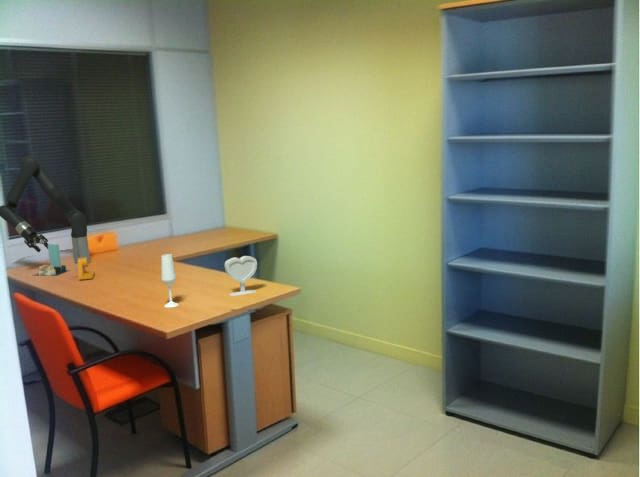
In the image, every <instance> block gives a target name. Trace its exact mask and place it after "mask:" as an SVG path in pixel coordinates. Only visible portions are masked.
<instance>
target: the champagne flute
mask: <svg viewBox="0 0 640 477" xmlns="http://www.w3.org/2000/svg"><path fill="white" fill-rule="evenodd" d="M160 257H161V258H160V260H161V278H160V280H161V281H162V283H164V284H165V285H166V286H168V299H169V302H167V303H166V304H165V305H163V307H164V308H174V307H175V308H176V307H178V306H179V304H180V303H177V302H174V301H173V296H172V285H173V284H174V283H175V281H176V279H177V274H176V269H175V263H174V259H173V254H172V253H166V254H162V255H161V256H160Z"/></svg>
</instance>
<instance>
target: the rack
mask: <svg viewBox="0 0 640 477" xmlns="http://www.w3.org/2000/svg"><path fill="white" fill-rule="evenodd" d="M54 270H55V272H56V274H54V275H39V272H38V273H35V274H33V275H31V276H33V277H34V276H35V277H58V276H60V275H62V274H65V273H68V272H70V271H71V270H70V269H69V270H67V265H63V264H61V267H54Z"/></svg>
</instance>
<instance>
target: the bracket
mask: <svg viewBox="0 0 640 477" xmlns="http://www.w3.org/2000/svg"><path fill="white" fill-rule="evenodd" d="M88 267H89V263H88V258H87V257H85V258H78V263H77V269H78V271H77V272H78V280H79V281H83V280H84V281H85V280H93V279H95V276H96V272H95V270H89V271H86V268H88Z"/></svg>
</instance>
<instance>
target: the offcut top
mask: <svg viewBox="0 0 640 477" xmlns="http://www.w3.org/2000/svg"><path fill="white" fill-rule="evenodd" d="M38 269H39V270H38V271H52V270H54V265H50V264H49V265H48V264H47V265H44V264H42V265H41V266H38Z"/></svg>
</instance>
